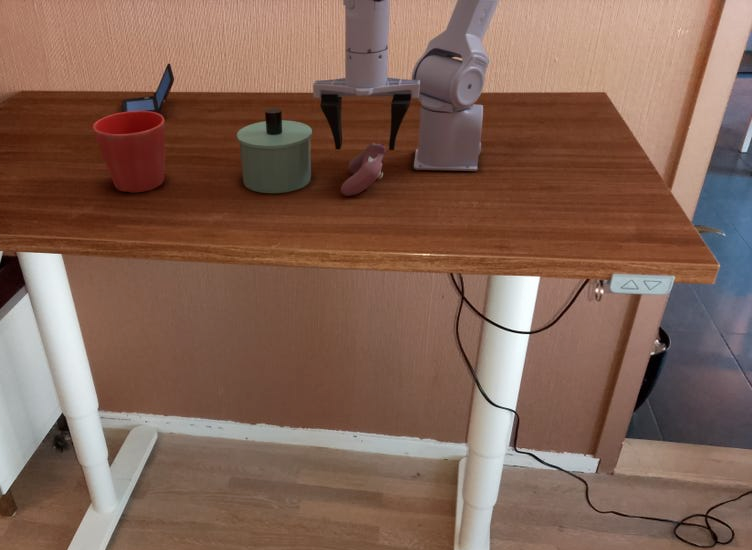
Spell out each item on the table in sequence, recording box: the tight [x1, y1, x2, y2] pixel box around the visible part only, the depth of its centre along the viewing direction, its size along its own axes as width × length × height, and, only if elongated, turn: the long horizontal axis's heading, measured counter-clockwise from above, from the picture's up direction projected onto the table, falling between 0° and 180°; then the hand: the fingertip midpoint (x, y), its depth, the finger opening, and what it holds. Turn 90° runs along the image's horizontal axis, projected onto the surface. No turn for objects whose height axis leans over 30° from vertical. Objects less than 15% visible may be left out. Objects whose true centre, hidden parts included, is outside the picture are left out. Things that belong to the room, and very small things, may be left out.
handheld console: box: [121, 62, 175, 116], centre depth 141 cm, size 12×11×7 cm
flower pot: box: [92, 111, 166, 193], centre depth 110 cm, size 11×11×10 cm
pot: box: [239, 138, 312, 194], centre depth 109 cm, size 10×10×7 cm
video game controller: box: [340, 141, 387, 197], centre depth 106 cm, size 10×5×7 cm, turn 168°
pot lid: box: [236, 107, 313, 149], centre depth 106 cm, size 11×11×4 cm
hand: (365, 147), depth 104 cm, fingers open, 7 cm apart
